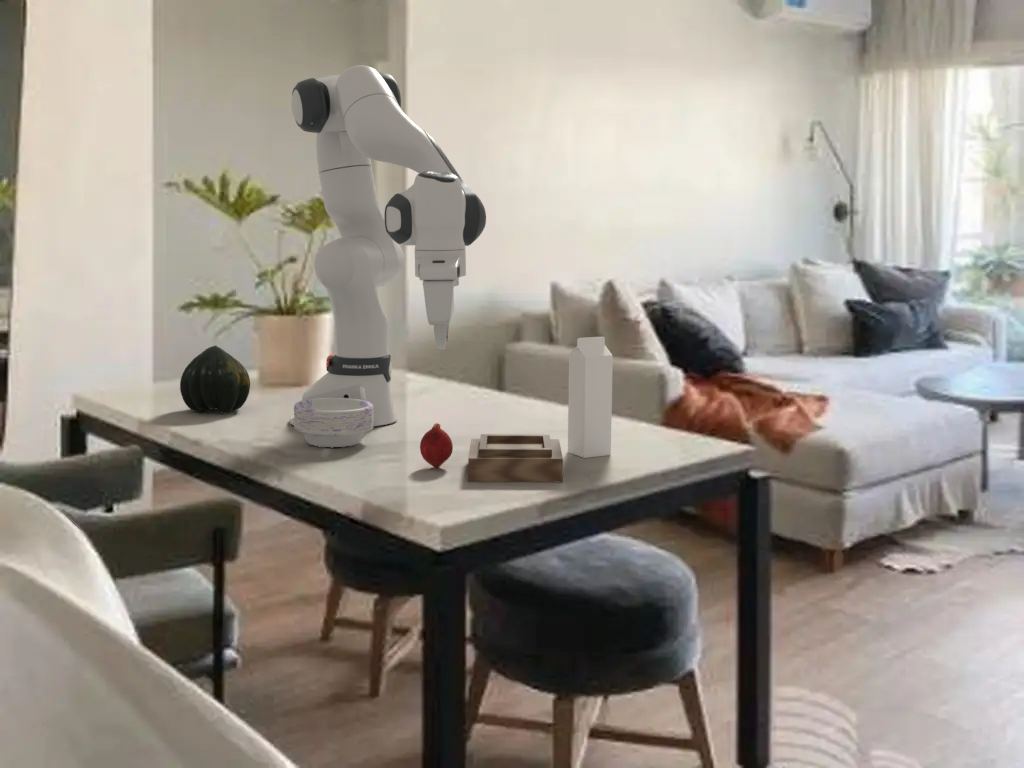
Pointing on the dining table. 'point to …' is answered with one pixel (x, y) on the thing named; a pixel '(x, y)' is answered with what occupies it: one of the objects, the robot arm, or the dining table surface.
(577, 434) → the milk
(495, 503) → the dining table surface
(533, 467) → the walnut pedestal
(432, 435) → the onion
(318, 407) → the paper bowls
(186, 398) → the squash
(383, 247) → the robot arm
